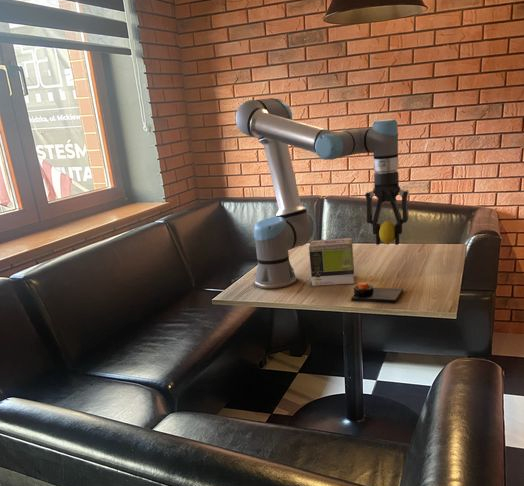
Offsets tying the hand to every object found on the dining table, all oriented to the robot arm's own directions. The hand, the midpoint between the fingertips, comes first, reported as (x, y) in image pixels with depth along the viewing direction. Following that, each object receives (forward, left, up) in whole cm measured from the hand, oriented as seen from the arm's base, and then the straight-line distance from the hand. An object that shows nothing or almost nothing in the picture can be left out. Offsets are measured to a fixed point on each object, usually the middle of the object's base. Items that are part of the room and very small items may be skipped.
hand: (387, 243), depth 177 cm
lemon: (0, 0, -1) cm, 1 cm away
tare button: (+4, -12, -12) cm, 17 cm away
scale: (+7, -8, -15) cm, 19 cm away
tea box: (-17, -12, -15) cm, 26 cm away
